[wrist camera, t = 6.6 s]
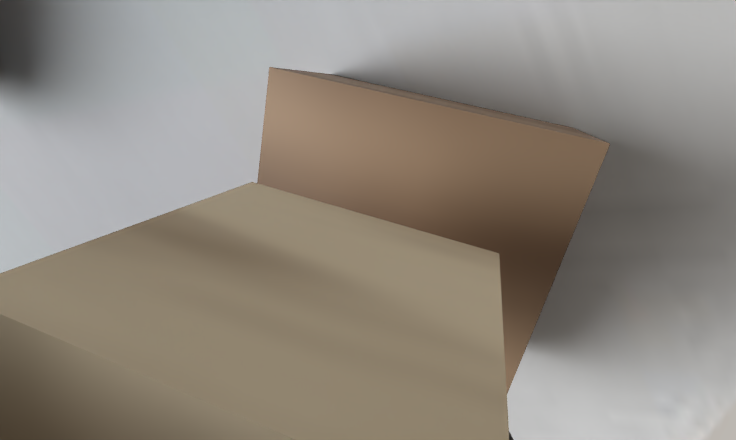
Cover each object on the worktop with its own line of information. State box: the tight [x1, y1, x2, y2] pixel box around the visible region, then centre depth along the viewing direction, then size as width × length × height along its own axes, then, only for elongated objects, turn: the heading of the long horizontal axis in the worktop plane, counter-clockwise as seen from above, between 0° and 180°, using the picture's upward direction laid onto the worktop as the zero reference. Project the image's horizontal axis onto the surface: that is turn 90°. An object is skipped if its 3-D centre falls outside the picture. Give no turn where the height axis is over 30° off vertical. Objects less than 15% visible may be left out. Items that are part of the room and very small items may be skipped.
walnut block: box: [257, 67, 610, 393], centre depth 14 cm, size 9×9×5 cm
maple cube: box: [0, 182, 509, 440], centre depth 6 cm, size 5×5×5 cm
